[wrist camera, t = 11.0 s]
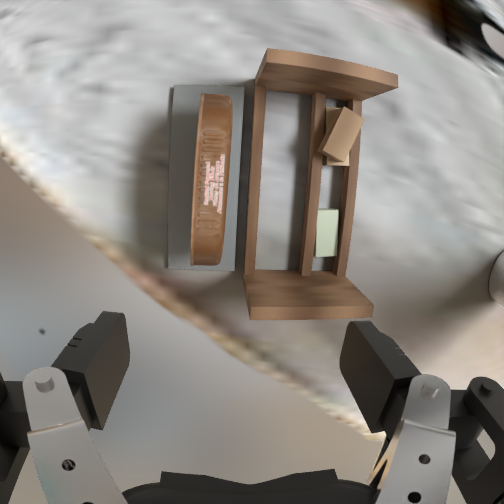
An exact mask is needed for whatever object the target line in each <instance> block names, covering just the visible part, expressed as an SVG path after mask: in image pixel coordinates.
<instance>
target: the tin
mask: <svg viewBox="0 0 504 504" xmlns="http://www.w3.org/2000/svg"><path fill="white" fill-rule="evenodd" d="M232 123H233V104H232V99H231V98H230V97H229V96H227V95H218V94H205V93H203V92H202V94H201V98H200V108H199V116H198V126H197V137H196V150H195V163H194V180H193V197H192V217H191V243H190V245H191V246H190V265H191V266H194V265H202V266H216V265H218V264H219V263H220V261H221V258H222V253H223V244H224V234H225V221H226V208H227V195H228V183H229V169H230V154H231V139H232Z"/></svg>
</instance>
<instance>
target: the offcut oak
mask: <svg viewBox="0 0 504 504" xmlns="http://www.w3.org/2000/svg"><path fill="white" fill-rule="evenodd" d="M363 121H364V118H362V117H361V116H359V115H358V114H356V113H354V112H353V111H351V110H350V109H348V108H346V107H345V106H344V107H341V108H339V109H337V112H336V114H335V116H334V118H333V120H332V122H331V124H330V126H329V128H328V130H327V132H326V134H325V136H324V138H323V140H322V142H321V145H320V147H319V149H318V151H319V152H321V153H322V154H324V155H326V156H328V157H329V158H331V159H333V160H335V161H336V162H345V160H346V158H347V156H348V154H349V152H350V149H351V147H352V145H353V143H354V141H355V139H356V137H357V134H358V132H359V130H360V128H361V126H362V124H363Z"/></svg>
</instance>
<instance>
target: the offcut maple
mask: <svg viewBox="0 0 504 504" xmlns="http://www.w3.org/2000/svg"><path fill="white" fill-rule="evenodd" d="M337 109H339V108H334V107H325V125H324V136H325V134H326V132H327V130H328V128H329V126H330V124H331V122H332V120H333V118H334V116H335V114H336V112H337ZM322 165H340V166H349V154H348V156H347V158H346V160H345V162H336V161H335V160H333V159H331V158H329V157H328V156H326V155H324V154H323V157H322Z"/></svg>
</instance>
